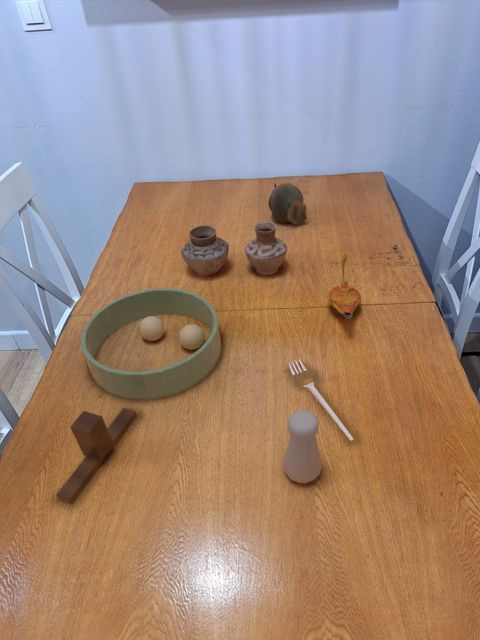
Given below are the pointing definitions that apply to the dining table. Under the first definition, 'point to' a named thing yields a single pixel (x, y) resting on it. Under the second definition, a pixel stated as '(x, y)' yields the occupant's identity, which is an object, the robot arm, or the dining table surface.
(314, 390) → the fork
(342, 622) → the dining table surface
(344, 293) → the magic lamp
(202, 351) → the green ring
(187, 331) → the dough ball
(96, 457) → the brown inverted t block
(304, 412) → the salt shaker
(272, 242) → the pair of painted pots
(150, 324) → the dough ball
